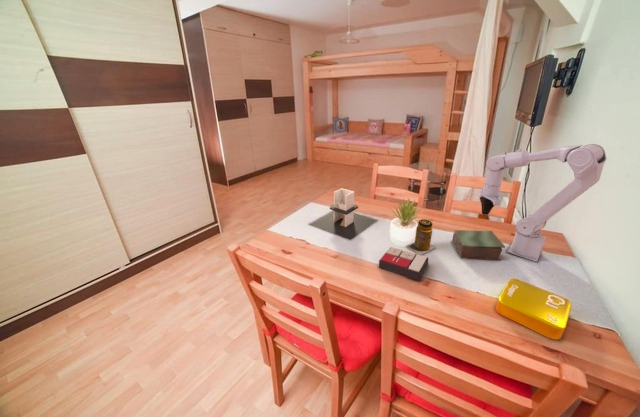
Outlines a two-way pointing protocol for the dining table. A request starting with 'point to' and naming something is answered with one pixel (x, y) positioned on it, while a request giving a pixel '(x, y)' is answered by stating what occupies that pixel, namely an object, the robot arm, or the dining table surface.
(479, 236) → the sage green tile
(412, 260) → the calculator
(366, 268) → the dining table surface
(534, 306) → the element tile
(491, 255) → the brown box
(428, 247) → the condiment
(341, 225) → the candle holder
